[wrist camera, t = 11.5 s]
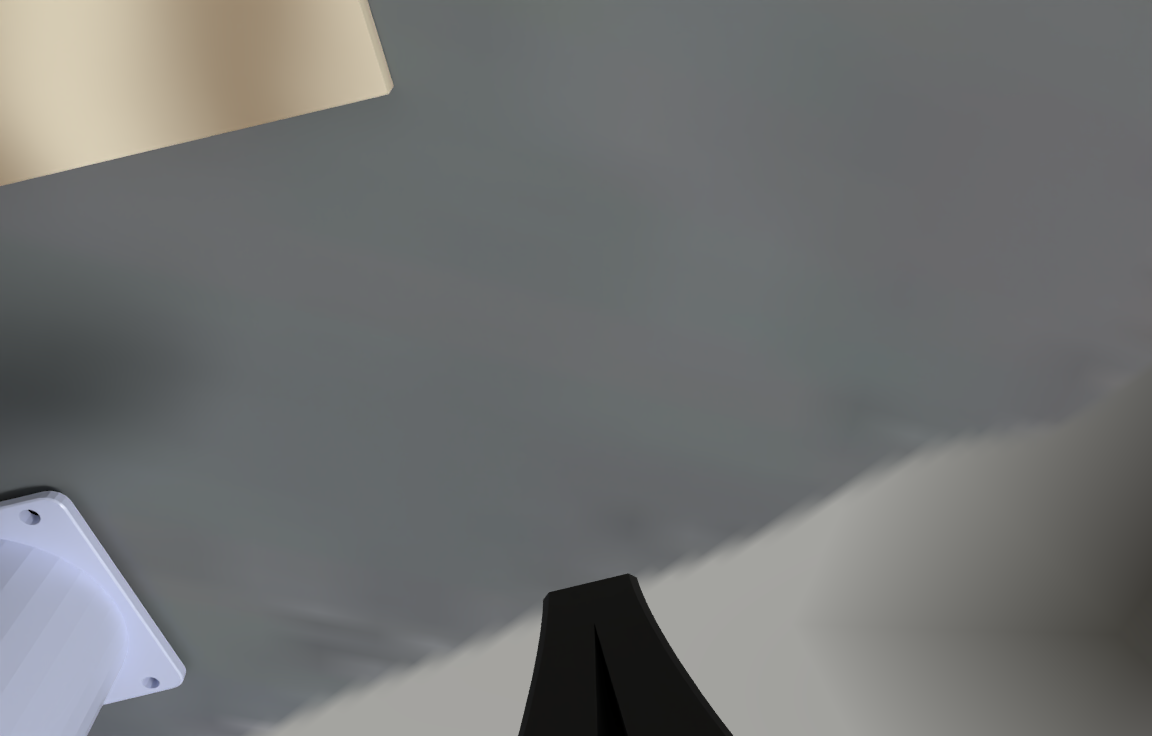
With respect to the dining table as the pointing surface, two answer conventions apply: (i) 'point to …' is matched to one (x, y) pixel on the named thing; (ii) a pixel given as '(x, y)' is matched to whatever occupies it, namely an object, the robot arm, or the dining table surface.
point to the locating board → (170, 73)
